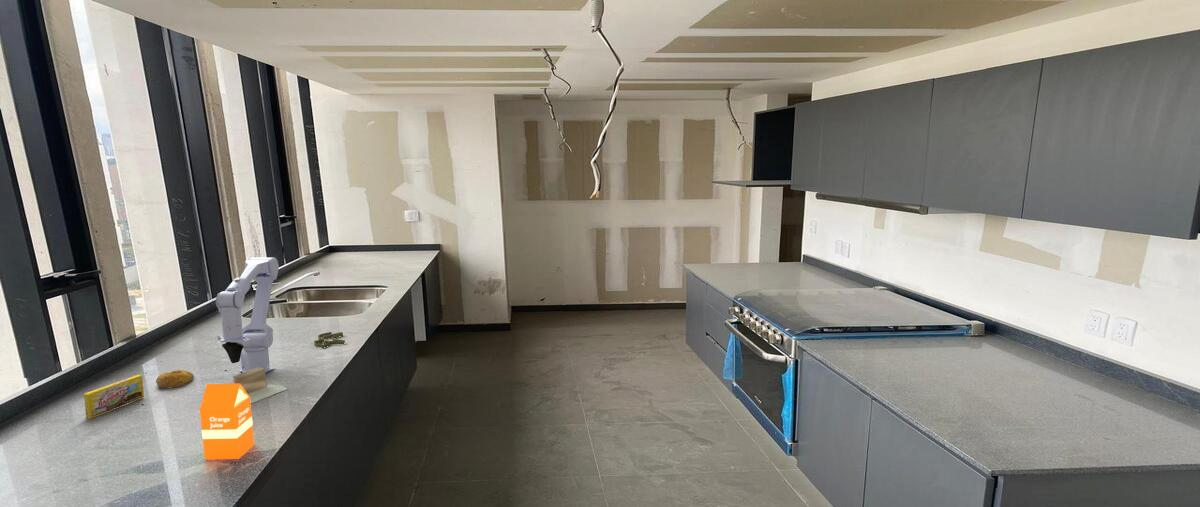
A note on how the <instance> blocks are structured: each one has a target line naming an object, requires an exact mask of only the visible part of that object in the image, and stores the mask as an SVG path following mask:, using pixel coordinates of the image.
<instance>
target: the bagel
mask: <svg viewBox="0 0 1200 507" xmlns="http://www.w3.org/2000/svg"><path fill="white" fill-rule="evenodd" d="M194 377H195V376H194V374H193V373H192V371H191V372H190V371H188V370H183V369H182V370H181V369H180V370H179V369H177V370H173V371H170V372H167V371H166V372H164V373H161V374H160V375H158V376H157V378H156V380H155V384H157V385H158V386H159V387H161V388H163V389H170V388H169V387H173V388H177V386H178V387H181V385H182V386H185V385H187V384H189V383H190V382H192V380H193V379H194ZM184 384H185V385H184Z"/></svg>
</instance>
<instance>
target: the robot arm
mask: <svg viewBox="0 0 1200 507" xmlns="http://www.w3.org/2000/svg"><path fill="white" fill-rule="evenodd" d="M279 267H280V266H279V261H278V259H277V258H276V257H273V256H272V257H252V256H249V257H247V258H246V260H245V262H244V270H243V271H242V273H241V275H240V277H236V278H234V279H232V280H233V281H231V283H230V284H229V285H228V286H227V287H226V289H225V290H224V291H221V292H219V293H217V295H216V298H215V306H216V307H217V309H218V313H219V314H220V316H221V317H220V319H221V327H222V328H221V329H222V333H219V334H217V336H216V337H217V340H218V341H219V342H220V343H222V344H221V347H222V348H223V349H224V350H225V352H226V353H227V355H228V357H229V360H230V363H232V364H236V363H239V362H240V364H241V369H239V372H240V373H243V372H246V371H249V370H252V369H255V368H258V367H260V368H264V369H265V373H267V372H271V371H274V370H275V369H276V367H274V366H270V354H269V348H270V347H271V346H272V345H273V341H274V329H273V328H272V327H271V326H270V325H269V324H267V318H268V312H269V307H270V300H271V293H272V289H273V283H274V281H276V280H277V278H278V272H279ZM252 281H255V282H256V283H257V284H256V288H255V289H256V290H255V296H254V301H253V307H252V312H251V317H250V318H251V319H250V322H249V323H248V324H246V325H245V326H243V320H242V311H241V310H242V309H241V307H242V306H243V304H244V300H245V295H247V293H248V292H249V291H250V288H251V286H252V285H251V282H252Z"/></svg>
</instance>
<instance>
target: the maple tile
mask: <svg viewBox="0 0 1200 507" xmlns="http://www.w3.org/2000/svg"><path fill="white" fill-rule="evenodd" d="M232 378H233V384H240V385H241V386H242V387H243V389H244V390H245V391H246V393H247V394H248V393H251V392H254V391H256V390H259V389H262V388H264V387H267V384H266V381H267V380H266V372H265V369H264V368H260V367H258V368H255V369H252V370H249V371H246V372H240V373H238V374H235V375H232Z"/></svg>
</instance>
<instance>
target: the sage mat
mask: <svg viewBox="0 0 1200 507" xmlns="http://www.w3.org/2000/svg"><path fill="white" fill-rule="evenodd" d="M287 390H288V388H286V387H283V386H279V385H277V384H276V385H275V384H270V385H266V387H264V388H262V389H259V390H256V391H254V392H251V393H248V396H249V397H250V403H251V405H252V404H254V403H257V402H259V401H263V400H265V399H267V398H269V397H272V396H275V395H277V394H279V393H282V392H285V391H287ZM274 394H275V395H274Z"/></svg>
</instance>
